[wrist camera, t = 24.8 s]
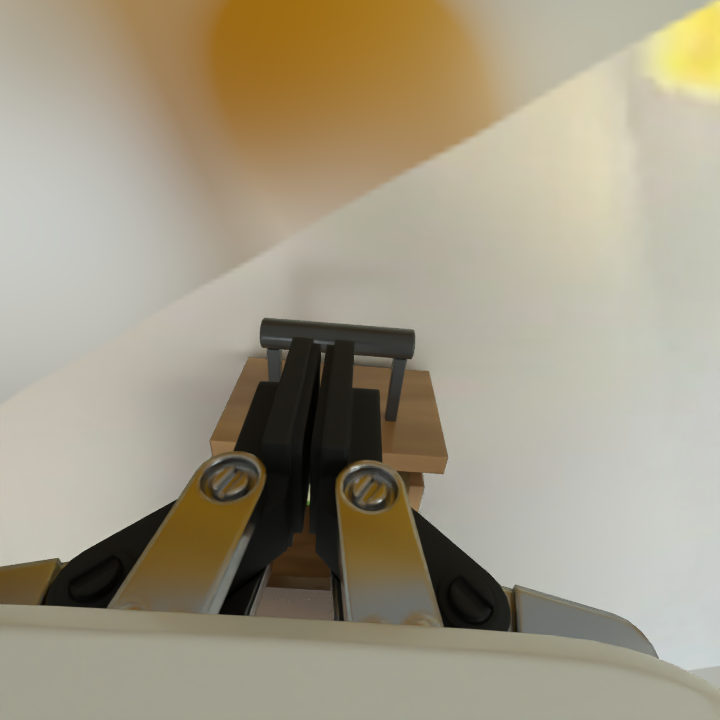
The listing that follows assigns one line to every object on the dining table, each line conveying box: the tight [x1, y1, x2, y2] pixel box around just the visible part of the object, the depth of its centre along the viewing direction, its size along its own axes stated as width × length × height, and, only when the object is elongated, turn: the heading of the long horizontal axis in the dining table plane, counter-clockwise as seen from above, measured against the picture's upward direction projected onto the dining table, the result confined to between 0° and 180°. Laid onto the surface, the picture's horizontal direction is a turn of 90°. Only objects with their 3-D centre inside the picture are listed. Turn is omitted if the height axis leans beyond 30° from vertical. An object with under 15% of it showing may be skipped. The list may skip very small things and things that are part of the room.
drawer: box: [210, 318, 448, 578], centre depth 24 cm, size 19×11×7 cm, turn 175°
